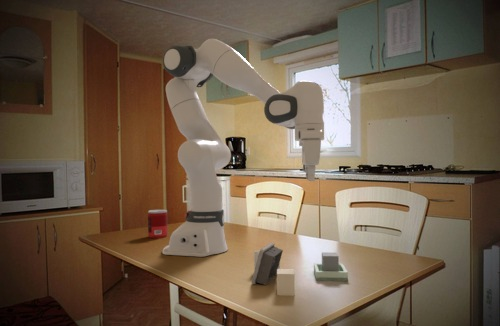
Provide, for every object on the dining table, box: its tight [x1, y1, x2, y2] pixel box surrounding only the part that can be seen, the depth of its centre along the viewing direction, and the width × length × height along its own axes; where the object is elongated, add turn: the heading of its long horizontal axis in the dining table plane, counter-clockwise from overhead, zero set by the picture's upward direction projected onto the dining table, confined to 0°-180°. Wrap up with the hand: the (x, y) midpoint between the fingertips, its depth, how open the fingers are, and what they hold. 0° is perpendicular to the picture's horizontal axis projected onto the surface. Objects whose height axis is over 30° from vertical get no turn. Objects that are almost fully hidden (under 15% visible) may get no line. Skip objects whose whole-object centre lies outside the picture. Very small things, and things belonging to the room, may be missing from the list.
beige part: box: [276, 268, 296, 297], centre depth 88 cm, size 4×4×5 cm
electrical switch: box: [251, 242, 284, 286], centre depth 97 cm, size 9×5×9 cm, turn 158°
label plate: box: [253, 250, 281, 269], centre depth 104 cm, size 7×1×6 cm, turn 85°
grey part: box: [321, 251, 340, 271], centre depth 100 cm, size 4×4×5 cm
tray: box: [313, 263, 349, 282], centre depth 100 cm, size 8×8×2 cm
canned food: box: [147, 209, 168, 239], centre depth 157 cm, size 8×8×11 cm
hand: (310, 180), depth 113 cm, fingers open, 8 cm apart
